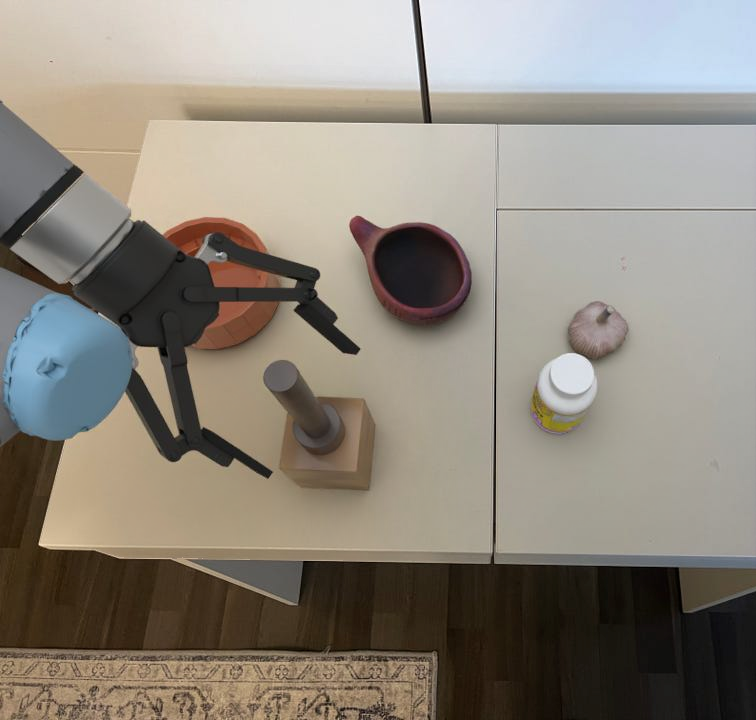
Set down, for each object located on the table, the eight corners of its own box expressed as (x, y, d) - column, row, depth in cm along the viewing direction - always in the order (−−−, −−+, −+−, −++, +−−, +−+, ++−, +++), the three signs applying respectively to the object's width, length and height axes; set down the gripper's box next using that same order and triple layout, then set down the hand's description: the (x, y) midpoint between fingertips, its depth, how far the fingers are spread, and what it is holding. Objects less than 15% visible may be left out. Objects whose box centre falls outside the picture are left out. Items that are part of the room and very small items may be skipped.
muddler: (313, 464, 68) (268, 415, 52) (290, 426, 69) (240, 368, 53) (353, 438, 69) (321, 383, 53) (330, 402, 70) (292, 338, 54)
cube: (300, 487, 77) (278, 468, 67) (309, 421, 80) (289, 395, 70) (369, 490, 77) (356, 472, 67) (375, 424, 80) (364, 398, 70)
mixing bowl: (192, 373, 82) (170, 353, 76) (140, 281, 86) (116, 256, 80) (303, 310, 85) (291, 287, 79) (248, 225, 90) (232, 197, 84)
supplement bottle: (530, 382, 82) (541, 341, 70) (582, 385, 82) (603, 344, 70) (529, 434, 80) (540, 401, 68) (583, 436, 80) (605, 404, 68)
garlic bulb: (624, 314, 86) (639, 285, 79) (623, 366, 83) (639, 341, 76) (567, 309, 86) (576, 279, 79) (564, 360, 83) (574, 334, 76)
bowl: (477, 255, 89) (478, 221, 82) (465, 341, 84) (465, 313, 77) (359, 242, 89) (350, 207, 82) (341, 327, 84) (330, 298, 77)
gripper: (195, 146, 56) (365, 305, 68) (-26, 381, 48) (211, 517, 59) (223, 128, 50) (405, 305, 62) (-22, 392, 42) (239, 541, 54)
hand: (310, 409), depth 61 cm, fingers open, 13 cm apart
